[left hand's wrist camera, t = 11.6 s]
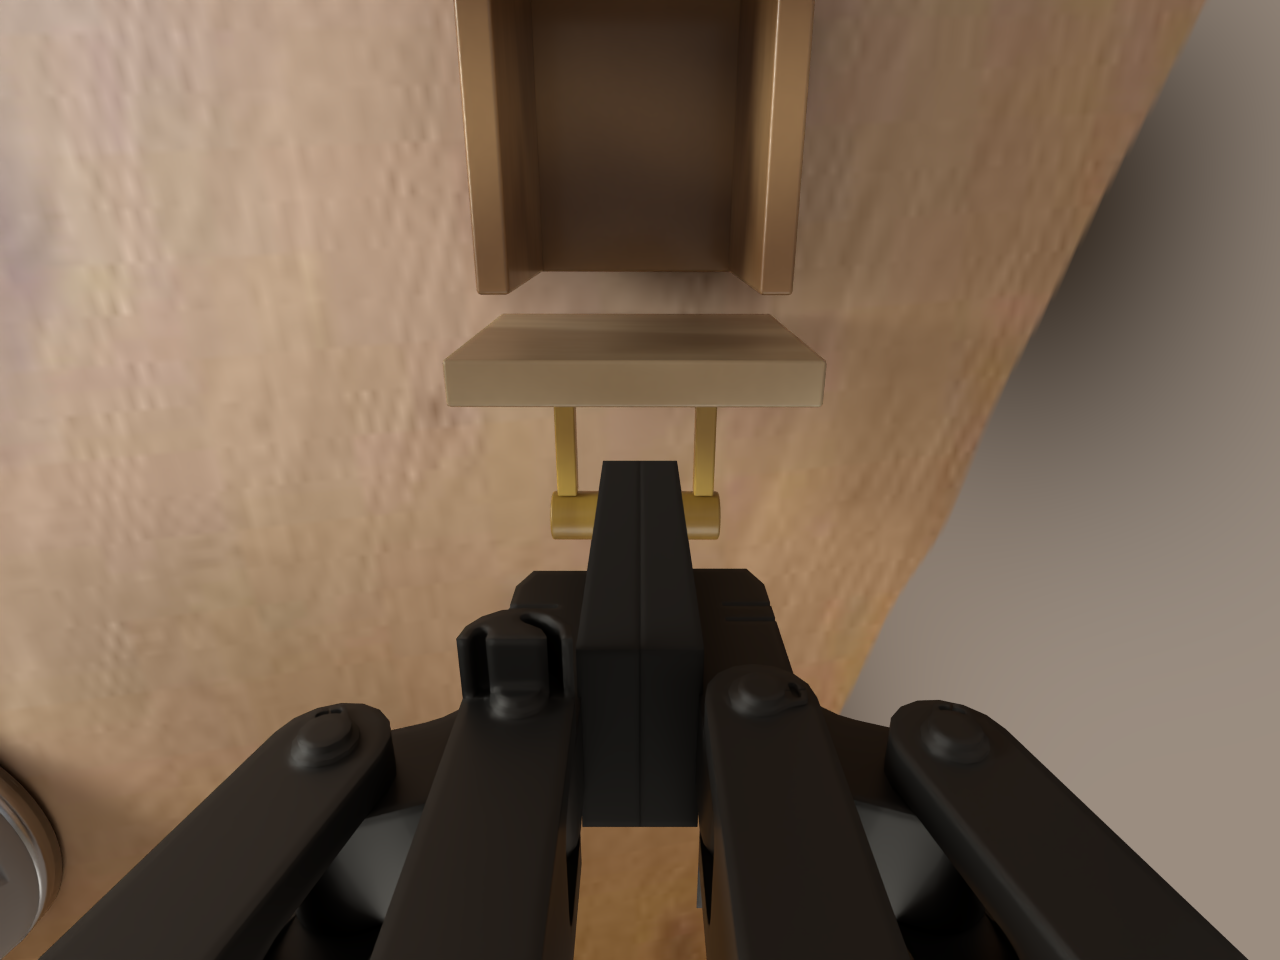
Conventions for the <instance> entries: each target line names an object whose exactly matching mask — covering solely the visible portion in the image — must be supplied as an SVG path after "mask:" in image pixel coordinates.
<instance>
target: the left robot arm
mask: <svg viewBox="0 0 1280 960" xmlns="http://www.w3.org/2000/svg"><path fill="white" fill-rule="evenodd" d="M456 640H457V649H458V658H459V668H460V677H461V686H462V695H463V700H462V702H461V705H460V708H459V710H457V711H455V712H453V713H451V714H449V715H447V716H445V717H443V718H439V719H436V720H433V721H429V722H426V723H422V724H418V725H413V726H409V727H404V728H400V729H395V730H391V728H390V722H389V720H388V719H387V718H386V716H385V715H384V714H383V713H382V712H381V711H380V710H379V709H376V708H373V707H371V706H368V705H365V704H355V703H339V704H335V705H330V706H325V707H320V708H317V709H314V710H312V711H310V712H307V713H305V714H303V715H301V716H298V717H296V718H294V719H293V720H291V721H290V722H288V723H287V724H286V725H284V726H283V727H282V728H280V729H279V730H278V731H276V732H275V733H274V734H273V735H272V736H271V737H270V738H269V739H268V740H266V741H265V742H264V743H263V744H262V745H261V746H260V747H259V748H258V749H257V750H256V751H255V752H254V753H253V754H252V755H251V756H250V757H249V758H248V759H247V760H246V761H245V762H243V763H242V764H241V765H240V766H239V767H238V768H237V769H236V770H235V771H234V772H233V773H232V774H231V775H230V776H229V777H228V778H227V779H226V780H225V781H224V782H223V783H222V784H221V785H219V786H218V787H217V788H216V789H215V790H214V791H213V792H212V793H211V794H210V795H209V796H208V797H207V798H206V799H205V800H204V801H203V802H202V803H201V804H200V805H199V806H198V807H197V808H195V809H194V810H193V811H192V812H191V813H190V814H189V815H188V816H187V817H186V818H185V819H184V820H183V821H182V822H181V823H180V824H179V825H178V826H177V827H176V828H175V829H174V830H173V831H171V832H170V833H169V834H168V835H167V836H166V837H165V838H164V839H163V840H162V841H161V842H160V843H159V844H158V845H157V846H156V847H155V848H154V849H153V850H152V851H151V852H150V853H148V854H147V855H146V856H145V857H144V858H143V859H142V860H141V861H140V862H139V863H138V864H137V865H136V866H135V867H134V868H133V869H132V870H131V871H130V872H129V873H128V874H127V875H126V876H124V877H123V878H122V879H121V880H120V881H119V882H118V883H117V884H116V885H115V886H114V887H113V888H112V889H111V890H110V891H109V892H108V893H107V894H106V895H105V896H104V897H103V898H102V899H100V900H99V901H98V902H97V903H96V904H95V905H94V906H93V907H92V908H91V909H90V910H89V911H88V912H87V913H86V914H85V915H84V916H83V917H82V918H81V919H80V920H79V921H78V922H76V923H75V924H74V925H73V926H72V927H71V928H70V929H69V930H68V931H67V932H66V933H65V934H64V935H63V936H62V937H61V938H60V939H59V940H58V941H57V942H56V943H55V944H53V945H52V946H51V947H50V948H49V949H48V950H47V951H46V952H45V953H44V954H43V955H42V956H41V957H40V958H39V959H38V960H573V957H574V945H575V934H576V922H577V911H578V899H579V887H580V876H581V864H582V863H581V838H580V831H581V820H582V826H583V827H697V826H698V817H699V827H700V838H699V863H698V888H697V908H702V910H703V921H704V933H705V944H706V956H707V960H1248V959H1247V958H1246V957H1245V956H1244V955H1243V954H1242V953H1241V952H1240V951H1239V950H1238V949H1236V948H1235V947H1234V946H1233V945H1232V944H1231V943H1230V942H1229V941H1228V940H1227V939H1226V938H1225V937H1224V936H1223V935H1222V934H1221V933H1220V932H1219V931H1218V930H1217V929H1215V928H1214V927H1213V926H1212V925H1211V924H1210V923H1209V922H1208V921H1207V920H1206V919H1205V918H1204V917H1203V916H1202V915H1201V914H1200V913H1199V912H1198V911H1196V910H1195V909H1194V908H1193V907H1192V906H1191V905H1190V904H1189V903H1188V902H1187V901H1186V900H1185V899H1184V898H1183V897H1182V896H1181V895H1180V894H1179V893H1178V892H1177V891H1175V890H1174V889H1173V888H1172V887H1171V886H1170V885H1169V884H1168V883H1167V882H1166V881H1165V880H1164V879H1163V878H1162V877H1161V876H1160V875H1159V874H1158V873H1157V872H1155V871H1154V870H1153V869H1152V868H1151V867H1150V866H1149V865H1148V864H1147V863H1146V862H1145V861H1144V860H1143V859H1142V858H1141V857H1140V856H1139V855H1138V854H1137V853H1136V852H1134V851H1133V850H1132V849H1131V848H1130V847H1129V846H1128V845H1127V844H1126V843H1125V842H1124V841H1123V840H1122V839H1121V838H1120V837H1119V836H1118V835H1117V834H1115V833H1114V832H1113V831H1112V830H1111V829H1110V828H1109V827H1108V826H1107V825H1106V824H1105V823H1104V822H1103V821H1102V820H1101V819H1100V818H1099V817H1098V816H1097V815H1095V814H1094V813H1093V812H1092V811H1091V810H1090V809H1089V808H1088V807H1087V806H1086V805H1085V804H1084V803H1083V802H1082V801H1081V800H1080V799H1079V798H1078V797H1077V796H1076V795H1075V794H1073V793H1072V792H1071V791H1070V790H1069V789H1068V788H1067V787H1066V786H1065V785H1064V784H1063V783H1062V782H1061V781H1060V780H1059V779H1058V778H1057V777H1056V776H1055V775H1053V774H1052V773H1051V772H1050V771H1049V770H1048V769H1047V768H1046V767H1045V766H1044V765H1043V764H1042V763H1041V762H1040V761H1039V760H1038V759H1037V758H1036V757H1034V756H1033V755H1032V754H1031V753H1030V752H1029V751H1028V750H1027V749H1026V748H1025V747H1024V746H1023V745H1022V744H1021V743H1020V742H1019V741H1018V740H1017V739H1016V738H1015V737H1013V736H1012V735H1011V734H1010V733H1009V732H1008V731H1007V730H1006V729H1005V728H1003V727H1002V726H1001V725H999V724H998V723H997V722H995V721H994V720H992V719H991V718H990V717H988V716H987V715H985V714H983V713H980V712H978V711H976V710H973V709H971V708H969V707H967V706H964V705H961V704H956V703H951V702H946V701H941V700H923V701H915V702H912V703H910V704H907V705H904V706H902V707H900V708H899V709H898V711H897V712H896V713H895V714H894V715H893V716H892V717H891V722H890V728H889V727H884V726H880V725H876V724H871V723H867V722H862V721H858V720H854V719H851V718H847V717H844V716H841V715H837V714H835V713H833V712H831V711H829V710H827V709H825V708H823V707H821V706H820V704H819V701H818V699H817V697H816V695H815V694H814V692H813V691H812V689H811V688H810V686H809V685H808V684H807V683H806V682H804V681H803V680H802V679H800V678H799V677H797V676H796V675H795V674H793V671H792V668H791V665H790V662H789V659H788V656H787V653H786V650H785V647H784V644H783V641H782V638H781V635H780V632H779V628H778V625H777V622H776V621H775V616H774V613H773V610H772V607H771V606H770V601H769V598H768V595H767V592H766V589H765V586H764V584H763V583H762V582H761V581H760V580H759V579H757V578H756V577H755V576H754V575H753V574H752V573H751V572H749V571H748V570H747V569H693V568H692V561H691V555H690V548H689V541H688V534H687V527H686V520H685V513H684V506H683V499H682V493H681V486H680V479H679V472H678V465H677V461H603V465H602V472H601V479H600V486H599V493H598V499H597V506H596V513H595V520H594V527H593V534H592V541H591V548H590V555H589V561H588V568H587V571H533V572H532V573H531V574H530V575H529V576H528V577H526V578H525V579H524V580H523V581H522V582H521V583H520V584H519V585H517V586H516V589H515V592H514V595H513V598H512V601H511V604H510V608H509V610H501V611H498V612H495V613H492V614H489V615H485V616H482V617H480V618H479V619H477V620H476V621H474V622H472V623H471V624H469V625H468V626H466V627H465V628H464V630H463V631H462V632H461V633H460V635H459V636H458V637H457V639H456ZM62 869H63V866H62V856H61V851H60V847H59V843H58V840H57V838H56V835H55V832H54V830H53V828H52V826H51V824H50V822H49V820H48V819H47V817H46V816H45V814H44V812H43V811H42V809H41V808H40V807H39V805H38V804H37V803H36V801H35V800H34V799H33V797H32V796H31V795H30V794H29V793H28V792H27V791H26V790H25V789H24V787H23V786H22V785H21V784H20V783H19V782H18V781H16V780H15V779H14V778H13V777H12V776H11V775H10V774H9V773H8V772H6V771H5V770H4V769H3V768H2V767H0V960H1V959H2V958H3V957H4V956H5V955H6V954H8V953H9V952H10V951H11V950H12V949H13V948H14V947H15V946H17V945H18V944H19V943H20V942H21V941H22V940H23V939H24V938H25V937H26V935H27V934H28V933H29V932H30V931H31V930H32V928H33V927H34V926H35V925H36V924H37V922H38V921H39V920H40V919H41V918H42V916H43V915H44V914H45V913H46V912H47V910H48V909H49V908H50V907H51V905H52V904H53V902H54V900H55V898H56V896H57V894H58V891H59V889H60V885H61V880H62Z"/></svg>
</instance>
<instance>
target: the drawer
mask: <svg viewBox="0 0 1280 960" xmlns="http://www.w3.org/2000/svg"><path fill="white" fill-rule="evenodd" d="M814 5H815V0H454V11H455V24H456V36H457V49H458V61H459V74H460V87H461V99H462V112H463V124H464V137H465V149H466V162H467V175H468V187H469V200H470V212H471V225H472V237H473V250H474V263H475V275H476V288H477V292H478V293H479V294H481V295H506V294H509V293H510V292H512V291H513V290H515V289H516V288H518V287H519V286H521V285H522V284H524V283H525V282H527V281H528V280H530V279H531V278H533V277H534V276H536V275H537V274H539V273H540V272H542V271H606V272H731V273H732V274H734V275H735V276H737V277H738V278H739V279H741V280H742V281H743V282H745V283H746V284H748V285H749V286H750V287H752V288H753V289H754V290H756V291H757V292H758V293H760V294H762V295H790V294H791V293H792V291H793V279H794V266H795V253H796V240H797V227H798V214H799V201H800V188H801V175H802V162H803V149H804V136H805V123H806V110H807V97H808V84H809V71H810V57H811V44H812V31H813V18H814ZM443 372H444V382H445V392H446V402H447V405H448V406H450V407H554V422H555V445H556V468H557V491H555V492H553V494H552V499H551V512H550V521H551V534H552V537H553V539H592V534H593V527H594V520H595V513H596V506H597V499H598V493H599V491H578V461H577V430H576V407H695V434H694V467H693V491H681V493H682V499H683V506H684V513H685V520H686V527H687V534H688V540H716V539H718V537H719V534H720V499H719V494H718V492H716V491H714V467H715V443H716V419H717V407H821V406H822V404H823V395H824V385H825V375H826V361H825V360H824V359H823V358H822V357H820V356H819V355H818V354H817V353H816V352H814V351H813V350H812V349H811V348H810V347H808V346H807V345H806V344H805V343H804V342H802V341H801V340H800V339H799V338H798V337H796V336H795V335H794V334H793V333H792V332H790V331H789V330H788V329H787V328H786V327H784V326H783V325H782V324H781V323H780V322H778V321H777V320H776V319H775V318H774V317H772V316H771V315H769V314H502V315H501V316H499V317H498V318H497V319H496V320H494V321H493V322H492V323H490V324H489V325H488V326H487V327H485V328H484V329H483V330H482V331H480V332H479V333H478V334H477V335H475V336H474V337H473V338H471V339H470V340H469V341H468V342H466V343H465V344H464V345H463V346H461V347H460V348H459V349H457V350H456V351H455V352H454V353H452V354H451V355H450V356H449V357H447V358H446V359H445V360H444V361H443Z"/></svg>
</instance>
